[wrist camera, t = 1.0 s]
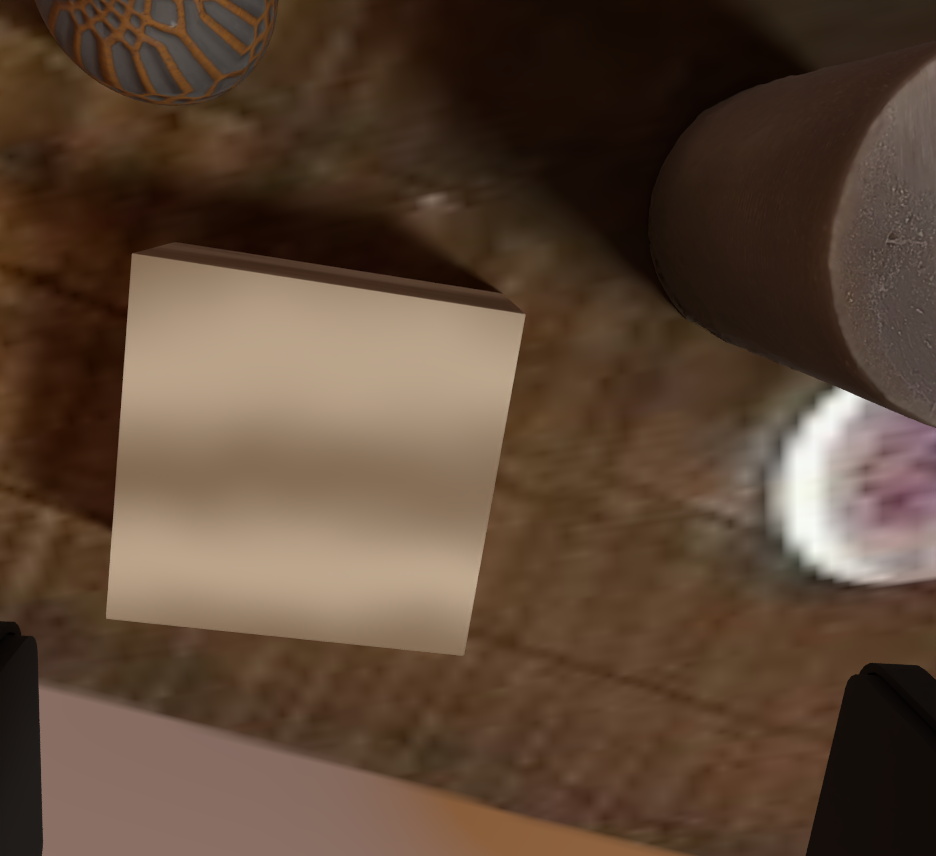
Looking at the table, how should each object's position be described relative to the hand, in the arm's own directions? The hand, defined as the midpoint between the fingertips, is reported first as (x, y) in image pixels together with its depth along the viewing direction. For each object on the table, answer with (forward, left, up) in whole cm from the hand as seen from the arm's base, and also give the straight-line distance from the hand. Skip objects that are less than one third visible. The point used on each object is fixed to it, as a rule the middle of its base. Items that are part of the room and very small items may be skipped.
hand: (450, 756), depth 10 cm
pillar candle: (-7, +13, -25) cm, 29 cm away
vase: (-11, -9, -25) cm, 29 cm away
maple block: (+3, -3, -25) cm, 25 cm away
